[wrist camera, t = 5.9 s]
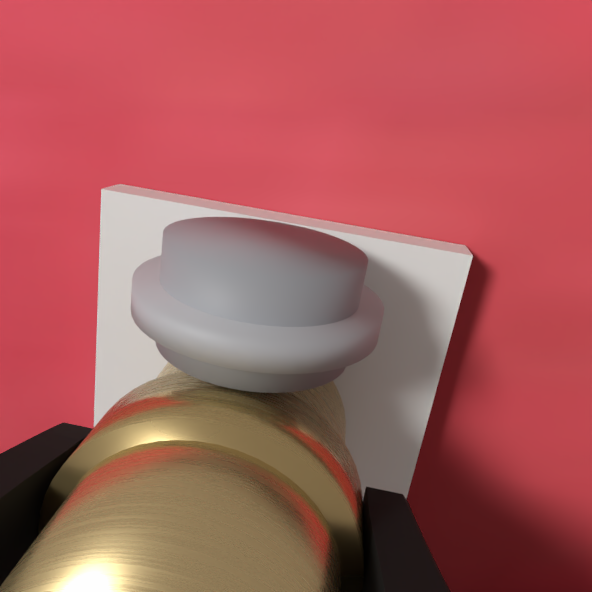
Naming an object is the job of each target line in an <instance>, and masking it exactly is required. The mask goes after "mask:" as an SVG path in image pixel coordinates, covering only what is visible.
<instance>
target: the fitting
mask: <svg viewBox="0 0 592 592" xmlns="http://www.w3.org/2000/svg"><path fill="white" fill-rule="evenodd" d="M472 258H473V255H472V254H471V252H470V251H469V249H468V248H467V247H466V245H460V244H455V243H449V242H443V241H438V240H432V239H427V238H421V237H415V236H410V235H404V234H398V233H393V232H387V231H382V230H376V229H370V228H365V227H359V226H354V225H348V224H342V223H337V222H331V221H326V220H320V219H314V218H309V217H303V216H298V215H292V214H286V213H281V212H275V211H269V210H264V209H258V208H253V207H247V206H241V205H236V204H230V203H225V202H219V201H213V200H208V199H202V198H197V197H191V196H185V195H180V194H174V193H168V192H163V191H157V190H152V189H146V188H140V187H135V186H129V185H124V184H117V185H114V186H110V187H107V188H103V189H101V218H100V249H99V280H98V311H97V343H96V374H95V405H94V427H95V426H96V425H97V423H98V422H99V421H100V420H101V419H102V417H103V416H104V415H105V414H106V412H107V411H108V410H109V409H110V408H111V407H112V406H113V405H114V404H115V403H116V402H117V401H118V400H119V399H120V398H122V397H123V396H125V395H126V394H127V393H129V392H130V391H132V390H133V389H135V388H137V387H139V386H140V385H142V384H144V383H146V382H148V381H151V380H154V379H156V378H157V376H158V375H159V374H160V372H161V371H162V370H163V368H164V367H165V366H166V364H167V363H168V362H169V363H170V364H171V365H173V366H174V367H176V368H177V369H179V370H180V371H182V372H184V373H186V374H188V375H190V376H192V377H195V378H197V379H200V380H202V381H205V382H208V383H211V384H214V385H218V386H222V387H226V388H231V389H237V390H242V391H251V392H261V393H286V392H296V391H303V390H308V389H313V388H316V387H319V386H322V385H325V384H327V383H329V382H331V381H333V382H334V384H335V385H336V387H337V389H338V392H339V394H340V396H341V399H342V403H343V406H344V410H345V418H346V433H345V445H346V447H347V448H348V450H349V451H350V454H351V456H352V458H353V461H354V463H355V465H356V468H357V471H358V475H359V478H360V482H361V490H362V498H364V494H365V489H366V487H371V488H376V489H381V490H385V491H390V492H395V493H400V494H403V495H404V497H405V498H406V499H407V495H408V492H409V488H410V484H411V481H412V477H413V473H414V470H415V466H416V462H417V459H418V455H419V451H420V448H421V444H422V440H423V437H424V433H425V429H426V426H427V422H428V419H429V415H430V411H431V408H432V404H433V400H434V397H435V393H436V389H437V386H438V382H439V378H440V375H441V371H442V367H443V364H444V360H445V356H446V353H447V349H448V345H449V342H450V338H451V335H452V331H453V327H454V324H455V320H456V316H457V313H458V309H459V305H460V302H461V298H462V294H463V291H464V287H465V283H466V280H467V276H468V272H469V269H470V265H471V261H472Z"/></svg>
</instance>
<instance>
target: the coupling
mask: <svg viewBox="0 0 592 592" xmlns="http://www.w3.org/2000/svg"><path fill="white" fill-rule="evenodd" d="M345 433H346V418H345V410H344V406H343V403H342V399H341V396H340V394H339V392H338V389H337V387H336V385H335V384H334V382H333V381H331V382H329V383H327V384H325V385H322V386H319V387H316V388H313V389H308V390H303V391H296V392H286V393H261V392H251V391H242V390H237V389H231V388H226V387H222V386H218V385H214V384H211V383H208V382H205V381H202V380H200V379H197V378H195V377H192V376H190V375H188V374H186V373H184V372H182V371H180V370H179V369H177V368H176V367H174V366H173V365H171V364H170V363H169V362H168V363H167V364H166V366H165V367H164V368H163V370H162V371H161V372H160V374H159V375H158V376H157V378H156V379H154V380H151V381H148V382H146V383H144V384H142V385H140V386H139V387H137V388H135V389H133V390H132V391H130V392H129V393H127V394H126V395H125V396H123V397H122V398H120V399H119V400H118V401H117V402H116V403H115V404H114V405H113V406H112V407H111V408H110V409H109V410H108V411H107V412H106V414H105V415H104V416H103V417H102V419H101V420H100V421H99V422H98V423H97V425H96V426H95V427H94V428H93V429H92V431H91V432H90V433H89V434H88V435H87V437H86V438H85V439H84V440H83V441H82V443H81V444H80V445H79V446H78V447H77V449H76V450H75V451H74V452H73V453H72V455H71V456H70V457H69V458H68V460H67V461H66V462H65V463H64V464H63V466H62V467H61V468H60V470H59V471H58V473H57V474H56V475H55V477H54V478H53V480H52V482H51V484H50V486H49V488H48V490H47V492H46V494H45V497H44V500H43V503H42V507H41V510H40V518H39V526H38V531H39V535H38V537H37V538H36V539H35V541H34V542H33V543H32V545H31V546H30V547H29V549H28V550H27V551H26V553H25V554H24V555H23V557H22V558H21V559H20V561H19V562H18V563H17V565H16V566H15V567H14V569H13V570H12V571H11V573H10V574H9V575H8V577H7V578H6V579H5V581H4V582H3V583H2V585H1V586H0V592H362V589H363V579H364V545H363V498H362V490H361V482H360V478H359V475H358V471H357V468H356V465H355V463H354V461H353V458H352V456H351V454H350V451H349V450H348V448H347V447H346V445H345Z"/></svg>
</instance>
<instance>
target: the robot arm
mask: <svg viewBox="0 0 592 592" xmlns="http://www.w3.org/2000/svg"><path fill="white" fill-rule="evenodd" d="M91 431H92V429H91V428H87V427H82V426H77V425H72V424H68V423H61V424H59V425H57V426H55V427H53V428H50V429H48V430H46V431H44V432H42V433H40V434H38V435H36V436H34V437H32V438H30V439H28V440H26V441H25V442H23V443H21V444H19V445H17V446H15V447H13V448H11V449H9V450H7V451H5V452H3V453H1V454H0V586H1V585H2V583H3V582H4V581H5V579H6V578H7V577H8V575H9V574H10V573H11V571H12V570H13V569H14V567H15V566H16V565H17V563H18V562H19V561H20V559H21V558H22V557H23V555H24V554H25V553H26V551H27V550H28V549H29V547H30V546H31V545H32V543H33V542H34V541H35V539H36V538H37V537H38V535H39V531H38V526H39V518H40V510H41V507H42V503H43V500H44V497H45V494H46V492H47V490H48V488H49V486H50V484H51V482H52V480H53V478H54V477H55V475H56V474H57V473H58V471H59V470H60V468H61V467H62V466H63V464H64V463H65V462H66V461H67V460H68V458H69V457H70V456H71V455H72V453H73V452H74V451H75V450H76V449H77V447H78V446H79V445H80V444H81V443H82V441H83V440H84V439H85V438H86V437H87V435H88V434H89V433H90V432H91ZM363 545H364V579H363V589H362V592H450V590H449V588H448V586H447V584H446V582H445V580H444V578H443V576H442V574H441V572H440V571H439V569H438V567H437V565H436V563H435V560H434V558H433V556H432V554H431V552H430V550H429V548H428V546H427V544H426V542H425V540H424V537H423V535H422V533H421V531H420V529H419V526H418V524H417V522H416V520H415V517H414V515H413V513H412V511H411V508H410V506H409V503H408V501H407V500H406V498H405V497H404V495H403V494H400V493H395V492H390V491H385V490H381V489H376V488H371V487H366V489H365V494H364V498H363Z"/></svg>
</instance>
